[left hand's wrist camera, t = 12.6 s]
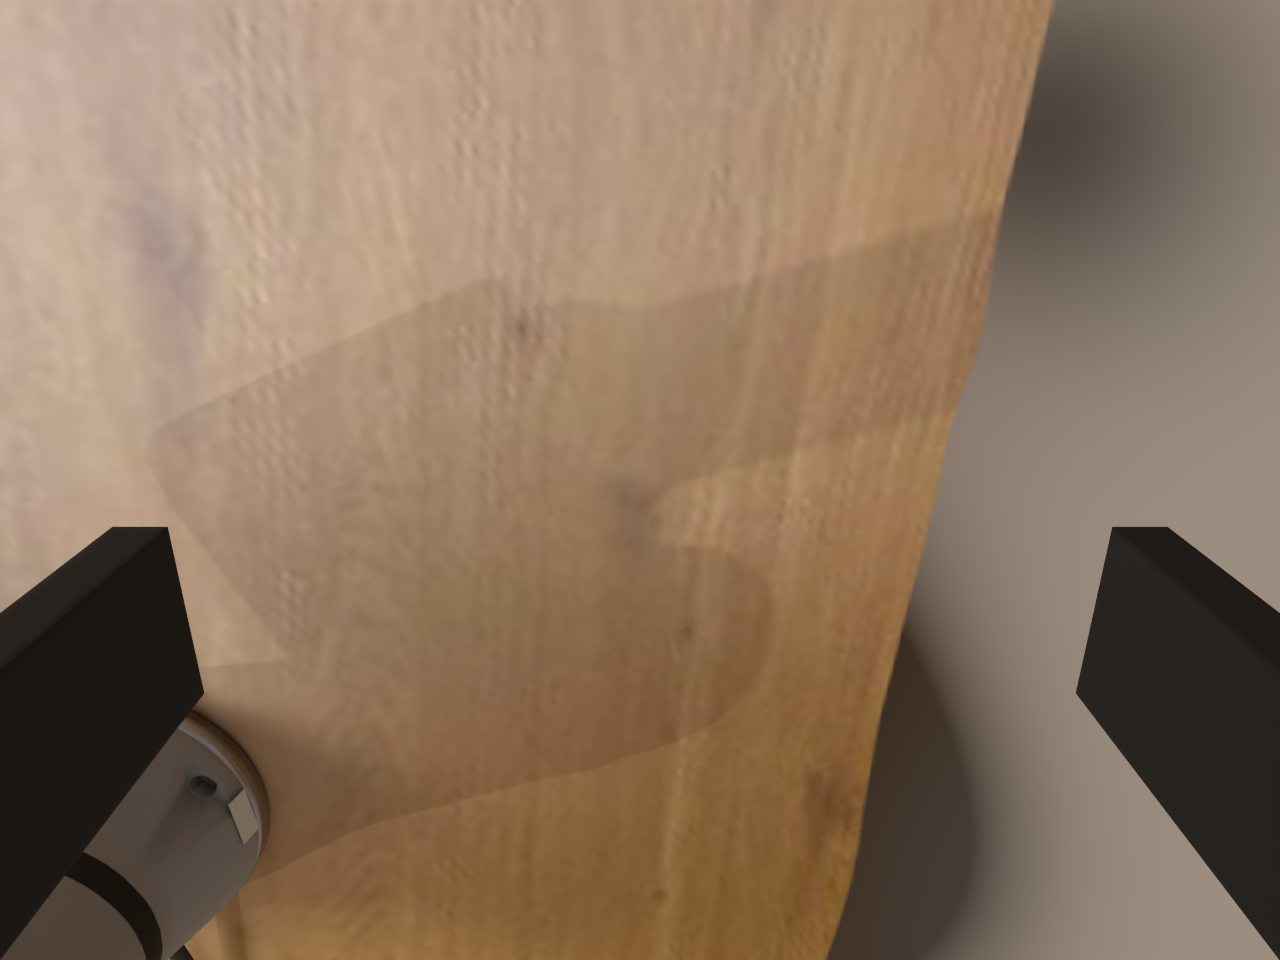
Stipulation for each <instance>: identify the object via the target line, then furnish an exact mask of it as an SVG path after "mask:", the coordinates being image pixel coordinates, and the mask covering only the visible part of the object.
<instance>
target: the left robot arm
mask: <svg viewBox="0 0 1280 960" xmlns="http://www.w3.org/2000/svg"><path fill="white" fill-rule="evenodd" d="M203 694H204V691H203V686H202V681H201V677H200V672H199V668H198V663H197V659H196V654H195V650H194V645H193V640H192V636H191V631H190V627H189V622H188V618H187V613H186V609H185V604H184V599H183V595H182V590H181V586H180V581H179V577H178V572H177V568H176V563H175V558H174V554H173V549H172V545H171V540H170V536H169V531H168V527H112V528H110V529H109V530H108V531H107V532H105V533H104V534H103V535H101V536H100V537H99V538H97V539H96V540H95V541H94V542H92V543H91V544H90V545H88V546H87V547H86V548H84V549H83V550H82V551H81V552H79V553H78V554H77V555H75V556H74V557H73V558H71V559H70V560H69V561H68V562H66V563H65V564H64V565H62V566H61V567H60V568H58V569H57V570H56V571H54V572H53V573H52V574H51V575H49V576H48V577H47V578H45V579H44V580H43V581H41V582H40V583H39V584H38V585H36V586H35V587H34V588H32V589H31V590H30V591H28V592H27V593H26V594H25V595H23V596H22V597H21V598H19V599H18V600H17V601H15V602H14V603H13V604H12V605H10V606H9V607H8V608H6V609H5V610H4V611H2V612H1V613H0V960H168V959H169V958H170V960H194V959H193V958H192V956H191V955H190V953H189V952H188V950H187V949H186V947H185V946H184V944H185V943H186V942H187V941H188V940H189V939H190V938H192V937H193V936H194V935H195V934H196V933H197V932H198V931H199V930H200V929H201V928H202V927H203V926H204V925H205V924H206V923H208V922H209V921H210V920H211V919H212V918H213V917H214V916H215V915H216V914H217V913H218V912H219V911H220V910H221V909H222V908H224V907H225V906H226V905H227V904H228V903H229V902H230V901H231V900H232V899H233V897H234V896H235V895H236V894H237V893H238V891H239V890H240V889H241V888H242V886H243V885H244V884H245V883H246V881H247V880H248V878H249V877H250V875H251V873H252V871H253V869H254V867H255V865H256V863H257V861H258V859H259V857H260V855H261V854H262V852H263V850H264V847H265V844H266V842H267V838H268V833H269V826H270V811H269V805H268V799H267V796H266V792H265V789H264V787H263V784H262V782H261V779H260V777H259V776H258V774H257V772H256V770H255V768H254V767H253V765H252V764H251V762H250V761H249V759H248V758H247V757H246V755H245V754H244V753H243V752H242V751H241V750H240V748H239V747H238V746H237V745H236V744H235V743H234V742H233V741H232V740H231V739H230V738H229V737H228V736H226V735H225V734H224V733H223V732H222V731H221V730H219V729H218V728H217V727H215V726H214V725H213V724H211V723H210V722H208V721H207V720H205V719H204V718H202V717H200V716H199V715H197V714H195V713H194V712H192V711H191V710H192V708H193V707H194V706H195V704H196V703H197V702H198V700H199V699H200V698H201V697H202V695H203ZM1076 694H1077V695H1078V697H1079V698H1080V699H1081V701H1082V702H1083V703H1084V704H1085V706H1086V707H1087V708H1088V710H1089V711H1090V712H1091V714H1092V715H1093V716H1094V718H1095V719H1096V720H1097V721H1098V723H1099V724H1100V725H1101V727H1102V728H1103V729H1104V731H1105V732H1106V733H1107V735H1108V736H1109V737H1110V739H1111V740H1112V741H1113V742H1114V744H1115V745H1116V746H1117V748H1118V749H1119V750H1120V752H1121V753H1122V754H1123V756H1124V757H1125V758H1126V759H1127V761H1128V762H1129V763H1130V765H1131V766H1132V767H1133V769H1134V770H1135V771H1136V773H1137V774H1138V775H1139V776H1140V778H1141V779H1142V780H1143V782H1144V783H1145V784H1146V786H1147V787H1148V788H1149V790H1150V791H1151V792H1152V794H1153V795H1154V796H1155V797H1156V799H1157V800H1158V801H1159V803H1160V804H1161V805H1162V807H1163V808H1164V809H1165V811H1166V812H1167V813H1168V814H1169V816H1170V817H1171V818H1172V820H1173V821H1174V822H1175V824H1176V825H1177V826H1178V828H1179V829H1180V830H1181V832H1182V833H1183V834H1184V835H1185V837H1186V838H1187V839H1188V841H1189V842H1190V843H1191V845H1192V846H1193V847H1194V849H1195V850H1196V851H1197V853H1198V854H1199V855H1200V856H1201V858H1202V859H1203V860H1204V862H1205V863H1206V864H1207V866H1208V867H1209V868H1210V870H1211V871H1212V872H1213V873H1214V875H1215V876H1216V877H1217V879H1218V880H1219V881H1220V883H1221V884H1222V885H1223V887H1224V888H1225V889H1226V890H1227V892H1228V893H1229V894H1230V896H1231V897H1232V898H1233V900H1234V901H1235V902H1236V904H1237V905H1238V906H1239V908H1240V909H1241V910H1242V911H1243V913H1244V914H1245V915H1246V917H1247V918H1248V919H1249V921H1250V922H1251V923H1252V925H1253V926H1254V927H1255V928H1256V930H1257V931H1258V932H1259V934H1260V935H1261V936H1262V938H1263V939H1264V940H1265V942H1266V943H1267V944H1268V946H1269V947H1270V948H1271V949H1272V951H1273V952H1274V953H1275V955H1276V956H1277V957H1278V959H1279V960H1280V613H1279V612H1278V611H1276V610H1275V609H1274V608H1272V607H1271V606H1270V605H1268V604H1267V603H1266V602H1265V601H1263V600H1262V599H1261V598H1259V597H1258V596H1257V595H1255V594H1254V593H1253V592H1252V591H1250V590H1249V589H1248V588H1246V587H1245V586H1244V585H1242V584H1241V583H1240V582H1238V581H1237V580H1236V579H1235V578H1233V577H1232V576H1231V575H1229V574H1228V573H1227V572H1225V571H1224V570H1223V569H1222V568H1220V567H1219V566H1218V565H1216V564H1215V563H1214V562H1212V561H1211V560H1210V559H1208V558H1207V557H1206V556H1205V555H1203V554H1202V553H1201V552H1199V551H1198V550H1197V549H1196V548H1194V547H1193V546H1192V545H1190V544H1189V543H1188V542H1186V541H1185V540H1184V539H1183V538H1181V537H1180V536H1179V535H1177V534H1176V533H1175V532H1173V531H1172V530H1171V529H1170V528H1168V527H1112V531H1111V536H1110V540H1109V545H1108V549H1107V554H1106V558H1105V563H1104V567H1103V572H1102V577H1101V581H1100V586H1099V590H1098V595H1097V599H1096V604H1095V609H1094V613H1093V618H1092V622H1091V627H1090V631H1089V636H1088V640H1087V645H1086V650H1085V654H1084V659H1083V663H1082V668H1081V672H1080V677H1079V681H1078V686H1077V691H1076Z"/></svg>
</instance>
